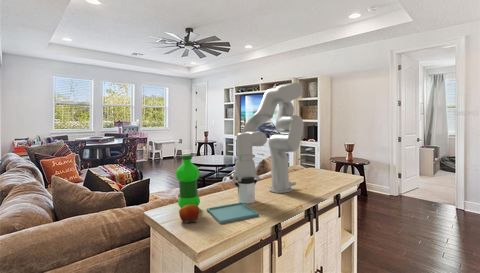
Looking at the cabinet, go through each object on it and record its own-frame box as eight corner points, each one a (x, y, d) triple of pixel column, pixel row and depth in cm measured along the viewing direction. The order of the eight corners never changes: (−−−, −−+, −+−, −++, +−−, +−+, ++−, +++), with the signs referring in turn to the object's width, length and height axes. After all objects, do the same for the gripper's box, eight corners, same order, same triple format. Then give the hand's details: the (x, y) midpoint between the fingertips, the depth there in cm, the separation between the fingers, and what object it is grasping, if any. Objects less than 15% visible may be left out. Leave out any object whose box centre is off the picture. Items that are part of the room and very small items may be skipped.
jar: (243, 204, 122) (243, 179, 121) (234, 200, 129) (233, 176, 128) (258, 201, 127) (258, 177, 126) (249, 197, 134) (248, 174, 133)
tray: (241, 204, 122) (241, 202, 122) (258, 216, 107) (258, 213, 107) (207, 211, 115) (206, 208, 115) (220, 224, 100) (219, 220, 100)
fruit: (182, 224, 97) (179, 203, 100) (179, 228, 103) (177, 208, 107) (203, 220, 100) (200, 200, 104) (199, 224, 107) (196, 205, 110)
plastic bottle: (191, 214, 111) (188, 157, 110) (173, 211, 116) (170, 156, 115) (205, 207, 120) (202, 154, 119) (187, 205, 125) (185, 153, 124)
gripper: (256, 155, 134) (258, 190, 134) (225, 158, 126) (227, 195, 127) (264, 157, 127) (265, 193, 128) (231, 160, 120) (233, 199, 121)
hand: (246, 194), depth 128 cm, fingers open, 5 cm apart
